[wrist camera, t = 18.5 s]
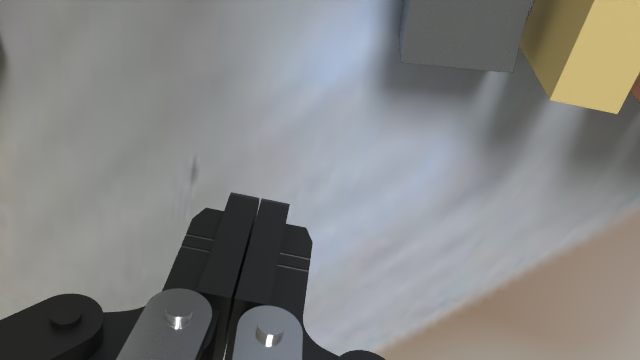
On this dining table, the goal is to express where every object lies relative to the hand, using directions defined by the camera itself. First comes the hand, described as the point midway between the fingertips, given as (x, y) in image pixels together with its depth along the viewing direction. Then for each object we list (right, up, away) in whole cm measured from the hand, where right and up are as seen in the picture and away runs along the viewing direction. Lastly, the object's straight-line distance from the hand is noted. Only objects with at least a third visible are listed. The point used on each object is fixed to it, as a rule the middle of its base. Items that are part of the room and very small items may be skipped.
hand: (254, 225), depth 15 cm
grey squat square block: (+11, +14, +25) cm, 31 cm away
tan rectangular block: (+18, +13, +25) cm, 33 cm away
